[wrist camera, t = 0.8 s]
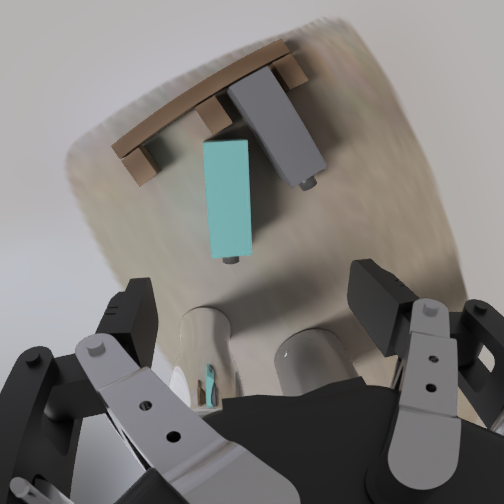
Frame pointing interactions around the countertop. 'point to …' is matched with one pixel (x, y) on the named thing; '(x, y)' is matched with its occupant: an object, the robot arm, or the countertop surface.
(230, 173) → the teal plug
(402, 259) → the countertop surface
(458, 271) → the countertop surface
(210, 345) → the beer glass
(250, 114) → the charcoal plug
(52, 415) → the robot arm
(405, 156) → the countertop surface
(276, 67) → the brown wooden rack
